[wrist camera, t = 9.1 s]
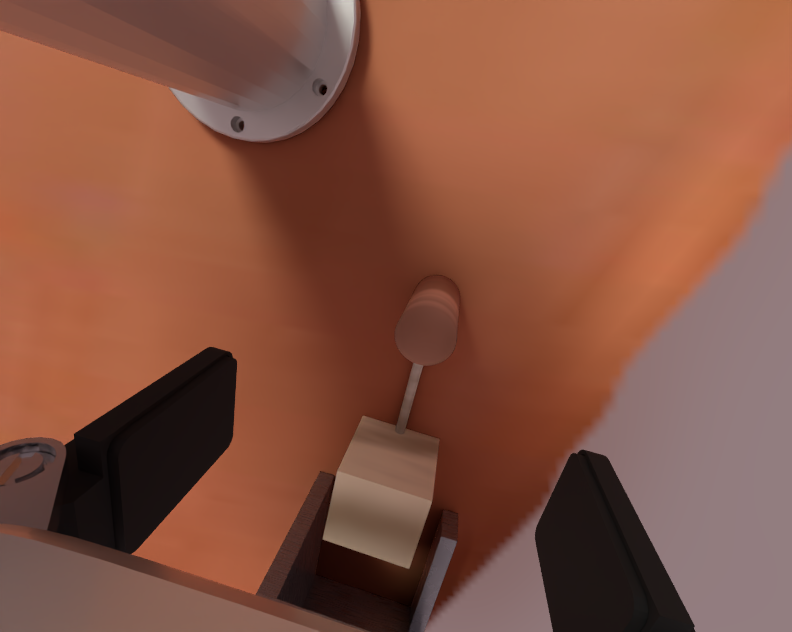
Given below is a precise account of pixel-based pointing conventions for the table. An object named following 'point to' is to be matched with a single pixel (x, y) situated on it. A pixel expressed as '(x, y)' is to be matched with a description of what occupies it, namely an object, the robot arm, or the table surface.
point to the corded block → (396, 444)
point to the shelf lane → (378, 617)
